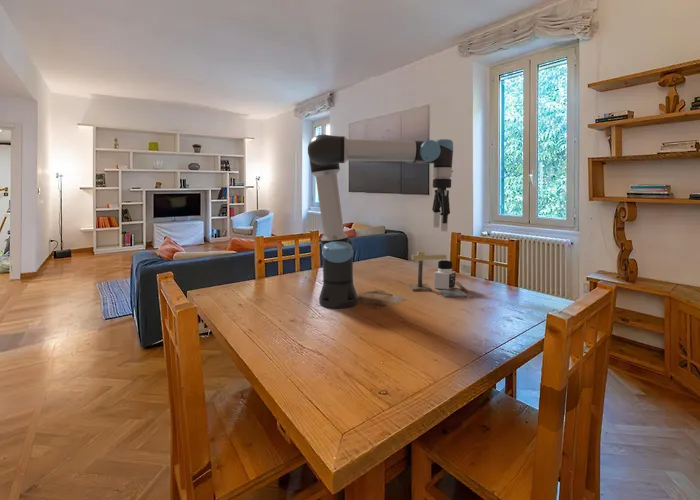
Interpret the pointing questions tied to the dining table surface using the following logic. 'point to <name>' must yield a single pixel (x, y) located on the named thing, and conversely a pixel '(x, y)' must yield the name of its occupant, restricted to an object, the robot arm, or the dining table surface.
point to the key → (427, 256)
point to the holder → (425, 286)
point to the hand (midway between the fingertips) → (439, 229)
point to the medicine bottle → (444, 275)
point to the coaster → (453, 293)
